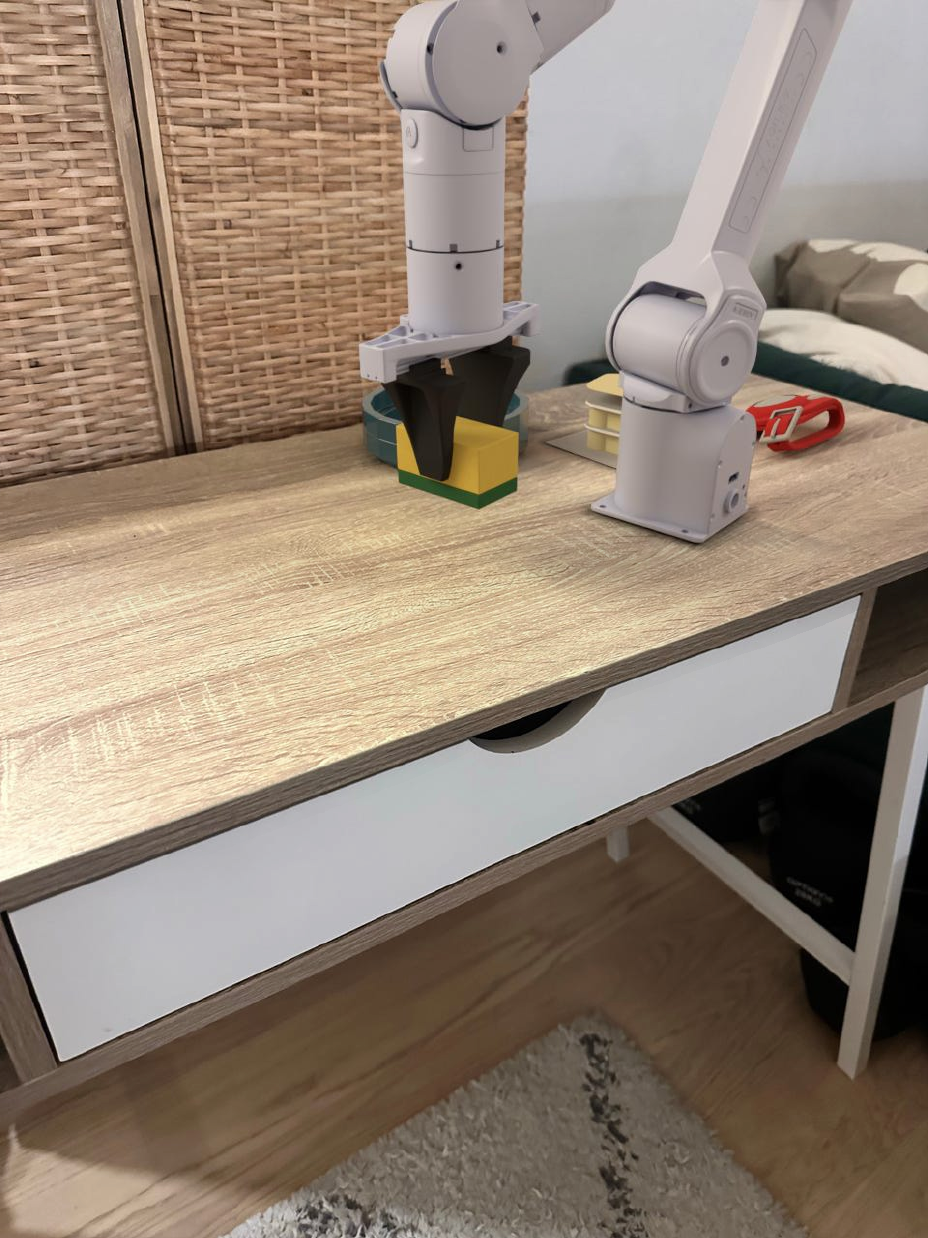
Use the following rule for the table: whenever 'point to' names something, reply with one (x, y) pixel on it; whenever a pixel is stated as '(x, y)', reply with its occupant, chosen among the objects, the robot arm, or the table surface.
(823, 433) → the red buckle strap
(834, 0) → the robot arm
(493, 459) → the sponge
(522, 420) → the bowl
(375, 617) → the table surface
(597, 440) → the stacked layers on plate
